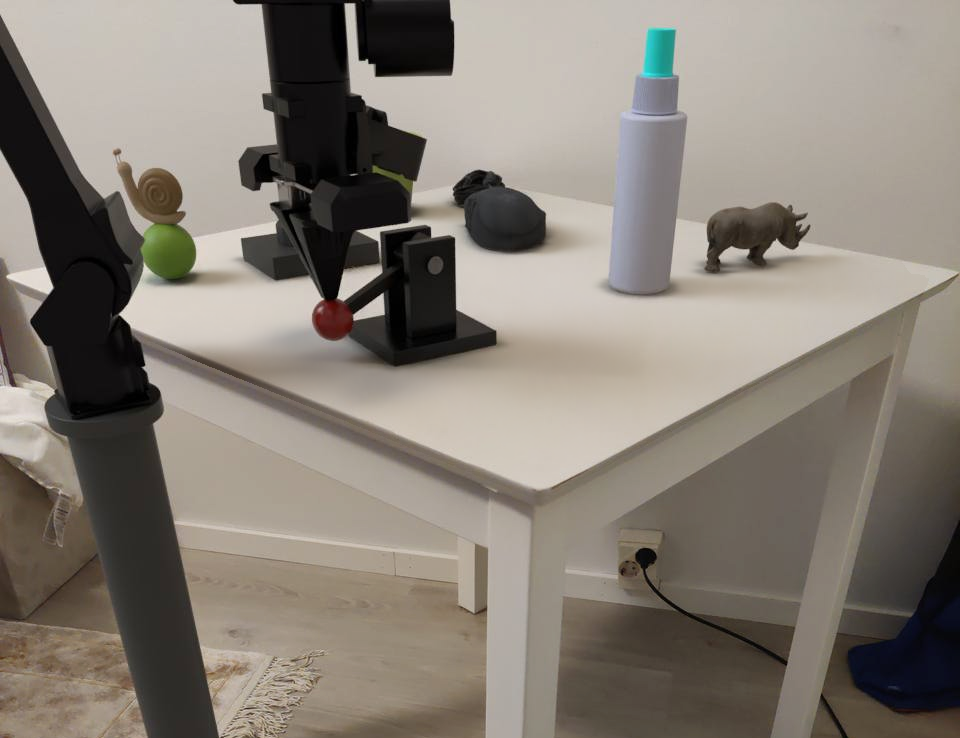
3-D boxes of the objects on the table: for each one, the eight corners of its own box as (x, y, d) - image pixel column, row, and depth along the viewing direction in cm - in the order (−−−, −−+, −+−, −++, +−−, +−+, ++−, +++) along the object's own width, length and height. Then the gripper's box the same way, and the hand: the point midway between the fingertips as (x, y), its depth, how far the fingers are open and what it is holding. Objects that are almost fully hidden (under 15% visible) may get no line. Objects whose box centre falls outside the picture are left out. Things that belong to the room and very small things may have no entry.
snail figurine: (149, 269, 104) (125, 143, 97) (208, 271, 103) (187, 145, 96) (128, 284, 99) (100, 154, 92) (188, 286, 99) (166, 155, 92)
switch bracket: (394, 366, 81) (388, 255, 76) (347, 335, 87) (338, 230, 82) (496, 344, 85) (497, 237, 80) (444, 315, 91) (442, 215, 86)
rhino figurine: (818, 260, 106) (830, 200, 103) (712, 275, 102) (720, 213, 98) (794, 251, 109) (804, 192, 106) (690, 265, 105) (697, 205, 101)
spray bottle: (626, 274, 102) (646, 25, 89) (679, 284, 99) (708, 28, 86) (597, 288, 98) (614, 29, 85) (651, 299, 95) (677, 33, 82)
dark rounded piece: (474, 255, 108) (474, 202, 105) (442, 191, 134) (441, 146, 130) (559, 252, 109) (561, 199, 106) (511, 188, 135) (512, 144, 131)
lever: (334, 354, 81) (315, 320, 78) (317, 342, 83) (297, 308, 81) (449, 270, 82) (433, 233, 80) (429, 260, 85) (412, 224, 82)
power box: (275, 280, 101) (270, 239, 98) (243, 259, 107) (237, 220, 104) (379, 262, 106) (377, 223, 103) (343, 243, 112) (340, 206, 110)
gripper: (473, 85, 68) (474, 313, 77) (354, 59, 80) (367, 257, 90) (325, 97, 63) (345, 339, 72) (223, 68, 76) (251, 276, 85)
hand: (329, 298), depth 80 cm, fingers closed
